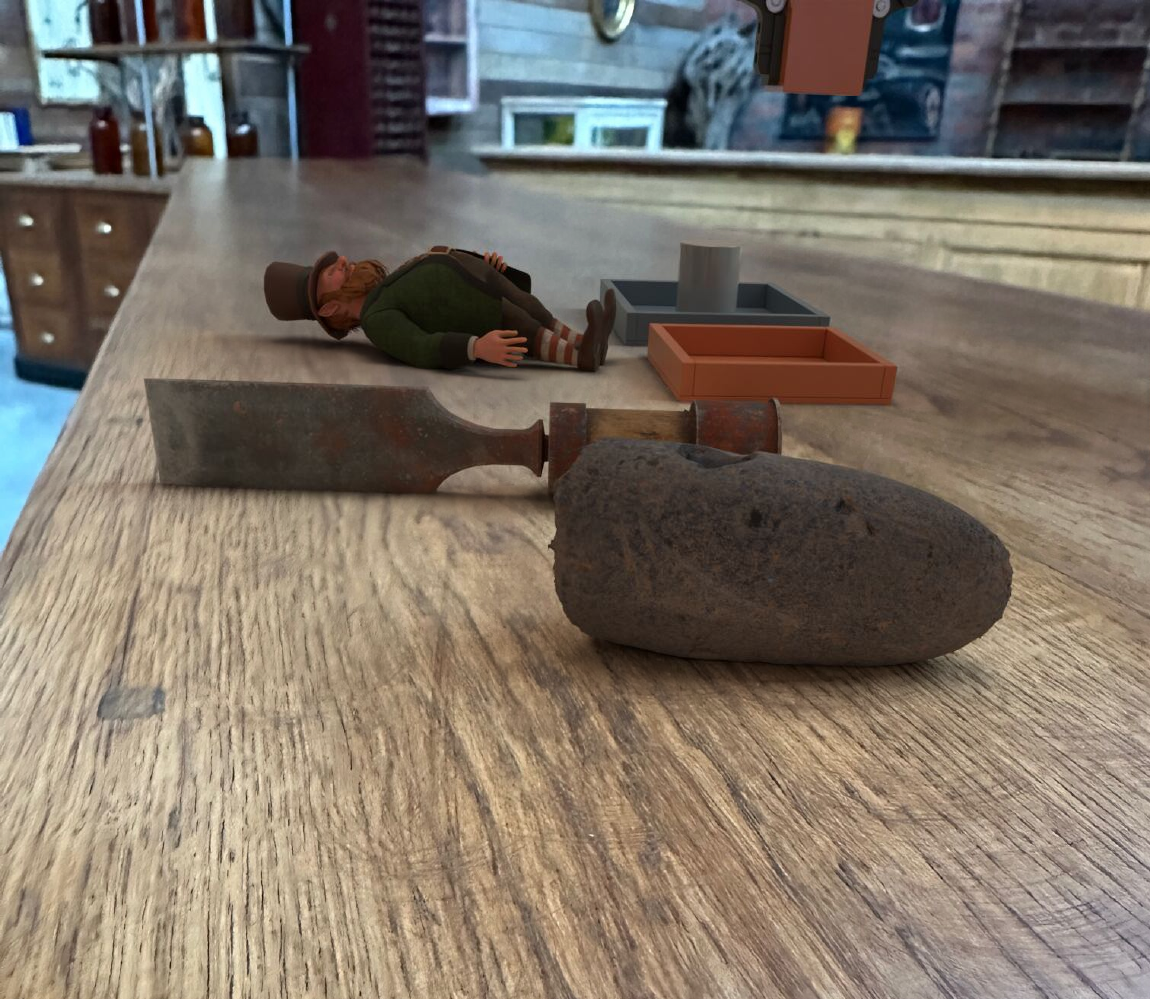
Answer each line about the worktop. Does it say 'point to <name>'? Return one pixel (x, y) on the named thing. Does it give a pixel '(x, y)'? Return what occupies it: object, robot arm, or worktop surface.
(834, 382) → the terracotta tray
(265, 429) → the chisel
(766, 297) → the slate tray
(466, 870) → the worktop surface
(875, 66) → the robot arm
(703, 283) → the stone cylinder
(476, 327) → the leprechaun
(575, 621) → the perforated stone tool
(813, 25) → the clay block
